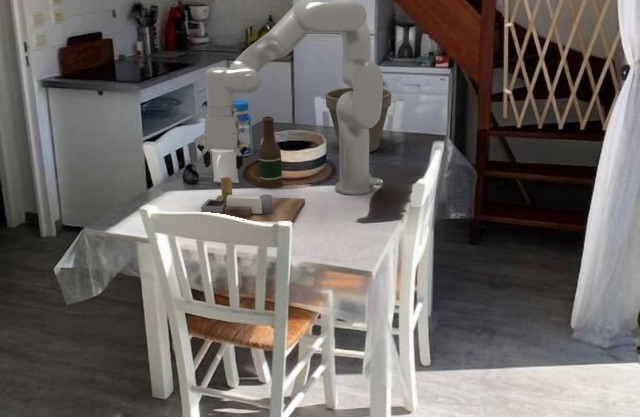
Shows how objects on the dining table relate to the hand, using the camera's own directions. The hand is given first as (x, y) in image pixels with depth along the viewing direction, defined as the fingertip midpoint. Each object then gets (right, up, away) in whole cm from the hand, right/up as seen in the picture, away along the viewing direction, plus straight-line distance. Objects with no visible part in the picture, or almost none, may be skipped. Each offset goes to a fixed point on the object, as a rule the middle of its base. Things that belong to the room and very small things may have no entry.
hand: (223, 166), depth 223 cm
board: (+9, -14, +1) cm, 16 cm away
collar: (-2, -13, -2) cm, 14 cm away
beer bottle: (+13, -6, +21) cm, 25 cm away
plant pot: (+44, +11, +64) cm, 78 cm away
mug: (-3, -5, +27) cm, 27 cm away
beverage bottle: (-1, +8, +60) cm, 61 cm away
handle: (+9, -13, -4) cm, 16 cm away
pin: (+1, -11, +4) cm, 12 cm away
